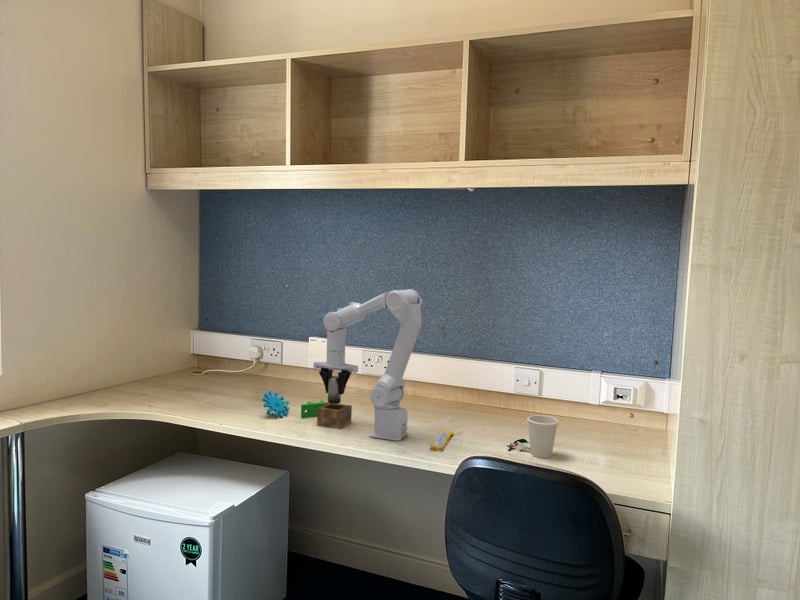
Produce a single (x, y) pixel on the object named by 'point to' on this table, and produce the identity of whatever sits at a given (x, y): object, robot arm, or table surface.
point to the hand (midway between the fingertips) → (335, 393)
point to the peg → (333, 390)
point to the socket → (334, 415)
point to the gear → (275, 404)
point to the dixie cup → (542, 435)
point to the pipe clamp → (311, 409)
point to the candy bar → (442, 440)
